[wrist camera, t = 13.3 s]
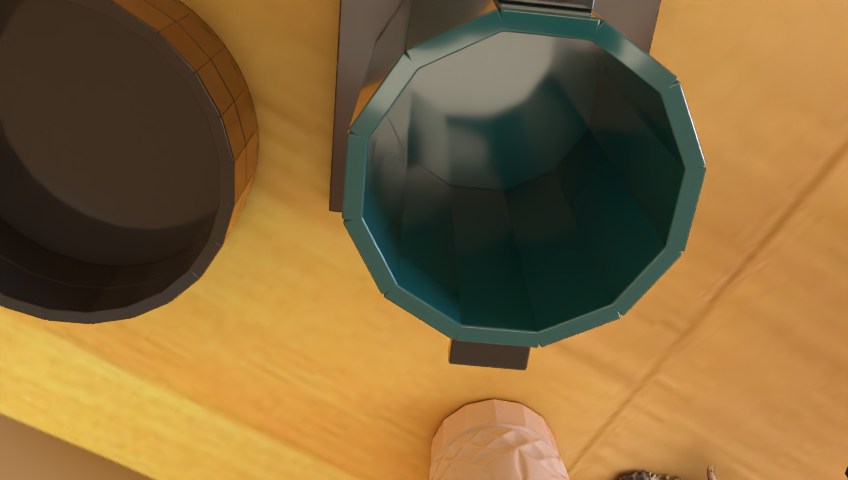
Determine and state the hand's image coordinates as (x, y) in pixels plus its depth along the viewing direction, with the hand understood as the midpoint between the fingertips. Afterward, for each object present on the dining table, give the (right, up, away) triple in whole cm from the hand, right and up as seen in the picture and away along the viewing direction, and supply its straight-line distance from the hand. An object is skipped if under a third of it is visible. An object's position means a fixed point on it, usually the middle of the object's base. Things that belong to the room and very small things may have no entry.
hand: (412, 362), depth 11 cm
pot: (+3, +8, +23) cm, 24 cm away
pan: (-14, +7, +25) cm, 29 cm away
